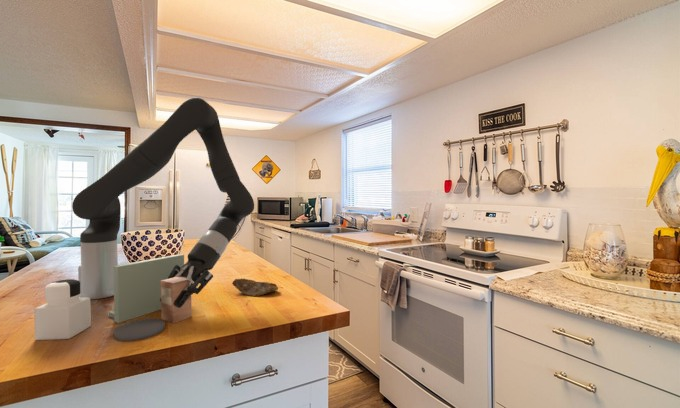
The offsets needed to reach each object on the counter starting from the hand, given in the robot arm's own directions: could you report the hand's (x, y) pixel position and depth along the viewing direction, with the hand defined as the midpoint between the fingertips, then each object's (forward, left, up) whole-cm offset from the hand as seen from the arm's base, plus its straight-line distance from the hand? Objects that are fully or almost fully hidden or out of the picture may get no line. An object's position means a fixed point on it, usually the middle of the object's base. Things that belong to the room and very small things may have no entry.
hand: (169, 304), depth 80 cm
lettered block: (+1, +2, -4) cm, 5 cm away
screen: (-12, +6, -4) cm, 14 cm away
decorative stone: (+12, +26, -5) cm, 29 cm away
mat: (-3, -7, -4) cm, 8 cm away
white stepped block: (-19, -10, -4) cm, 22 cm away
